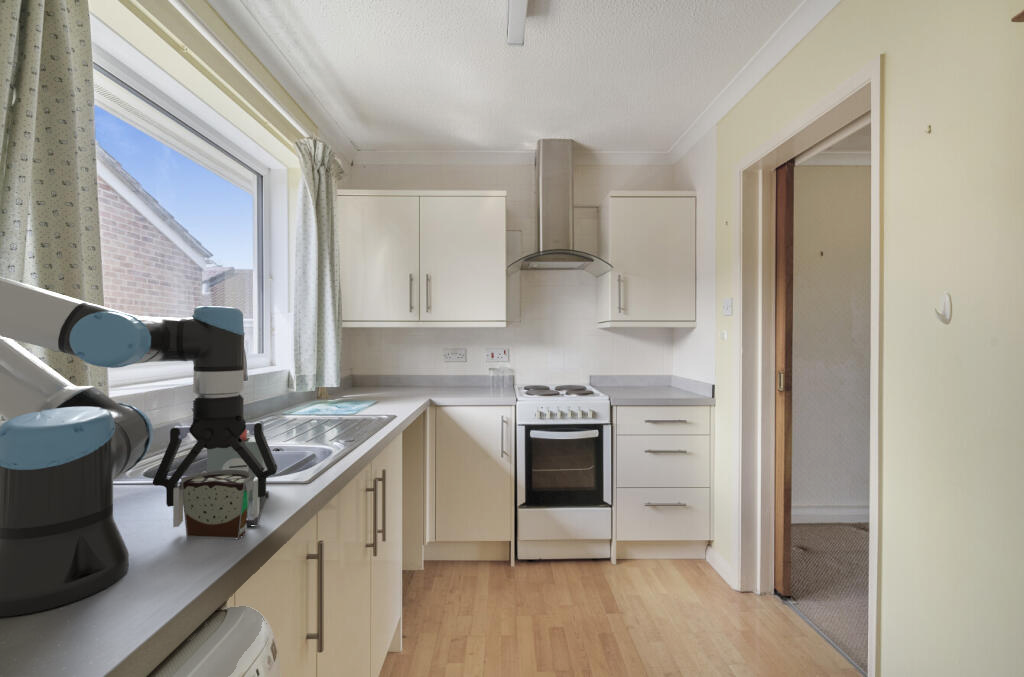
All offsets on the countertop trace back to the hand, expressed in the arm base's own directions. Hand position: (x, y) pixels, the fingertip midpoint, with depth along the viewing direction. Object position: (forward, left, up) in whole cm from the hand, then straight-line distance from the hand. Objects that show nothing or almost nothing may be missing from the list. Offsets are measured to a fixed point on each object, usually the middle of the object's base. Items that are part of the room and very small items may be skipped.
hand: (218, 519), depth 82 cm
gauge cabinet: (0, +18, -2) cm, 18 cm away
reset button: (0, +18, +10) cm, 21 cm away
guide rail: (+5, +8, -2) cm, 10 cm away
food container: (+1, -1, -2) cm, 3 cm away
